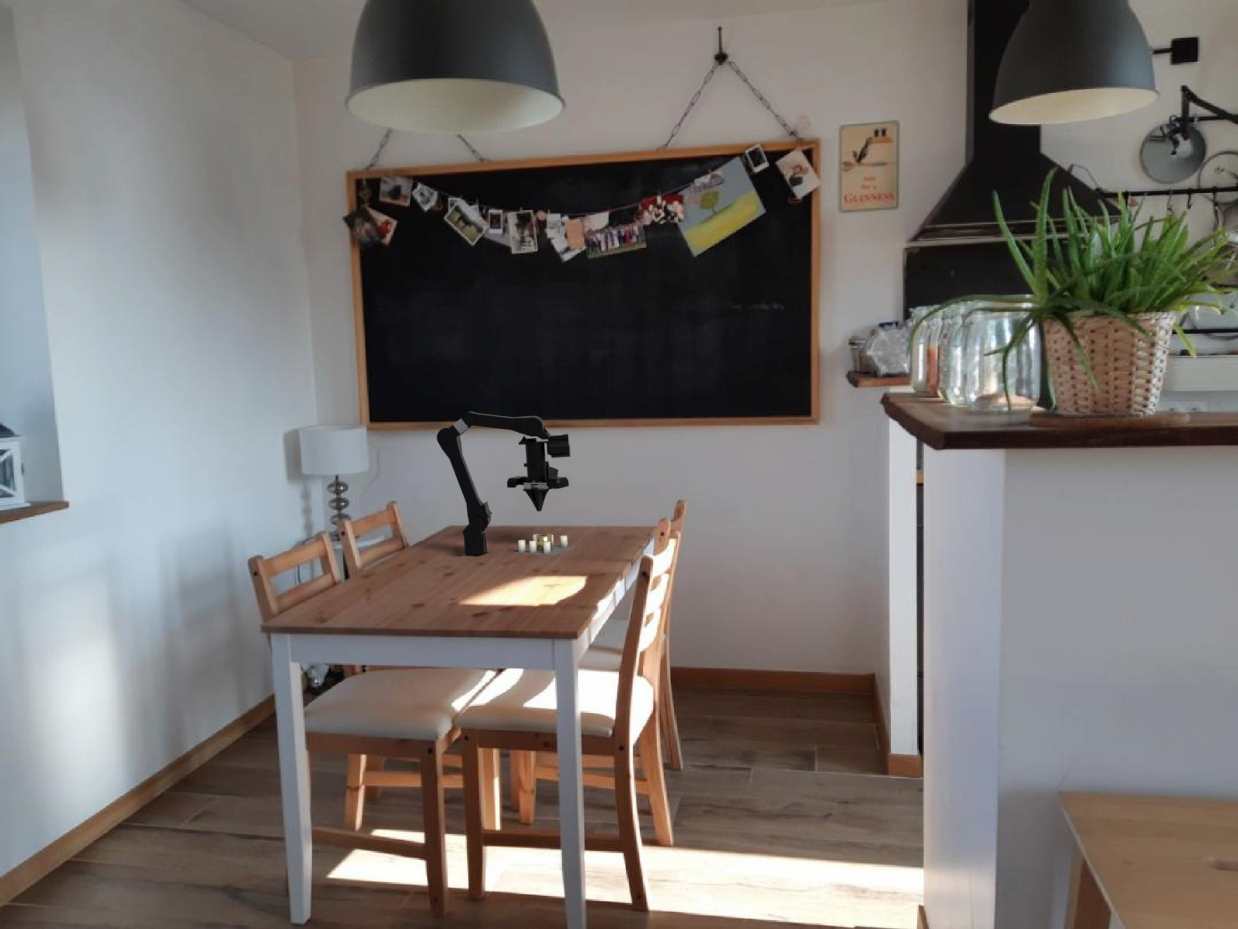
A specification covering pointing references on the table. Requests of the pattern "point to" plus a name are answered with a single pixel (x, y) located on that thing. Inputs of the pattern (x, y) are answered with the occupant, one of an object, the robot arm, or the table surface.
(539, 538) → the knob
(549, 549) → the spacers
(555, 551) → the mat
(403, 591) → the table surface
